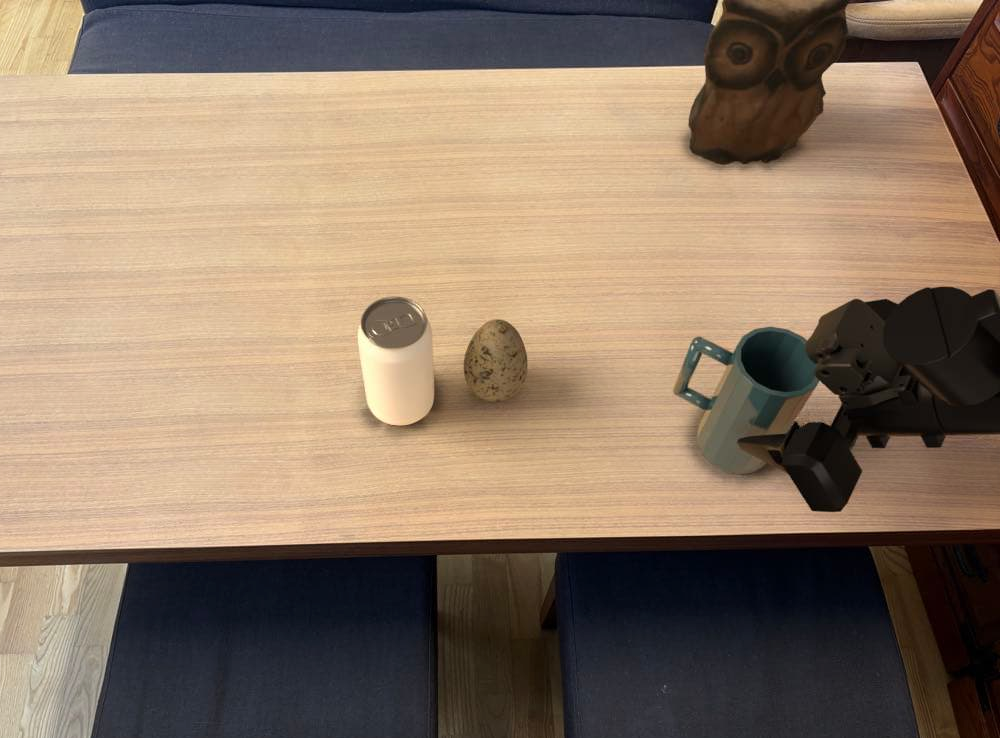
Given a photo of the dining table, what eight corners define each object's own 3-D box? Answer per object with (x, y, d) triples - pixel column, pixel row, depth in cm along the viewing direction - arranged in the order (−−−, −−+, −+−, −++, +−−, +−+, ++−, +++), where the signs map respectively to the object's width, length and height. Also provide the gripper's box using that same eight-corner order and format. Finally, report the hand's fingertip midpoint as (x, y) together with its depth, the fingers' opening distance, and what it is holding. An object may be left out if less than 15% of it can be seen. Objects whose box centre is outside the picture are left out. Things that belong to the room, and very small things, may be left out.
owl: (810, 146, 102) (882, -13, 85) (744, 195, 97) (806, 37, 80) (727, 95, 107) (779, -65, 90) (661, 139, 102) (702, -21, 85)
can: (357, 384, 83) (344, 305, 72) (419, 363, 84) (415, 283, 74) (381, 437, 79) (370, 362, 69) (444, 414, 81) (444, 338, 71)
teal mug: (782, 433, 80) (835, 352, 69) (752, 487, 77) (802, 410, 66) (682, 381, 83) (717, 295, 72) (649, 430, 80) (681, 348, 69)
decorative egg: (515, 359, 84) (522, 294, 76) (531, 409, 81) (540, 346, 73) (457, 370, 84) (457, 305, 75) (470, 420, 80) (473, 358, 72)
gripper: (949, 228, 62) (762, 267, 75) (861, 406, 54) (667, 415, 66) (1001, 342, 66) (816, 360, 79) (926, 522, 58) (732, 511, 71)
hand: (761, 406), depth 74 cm, fingers open, 9 cm apart
